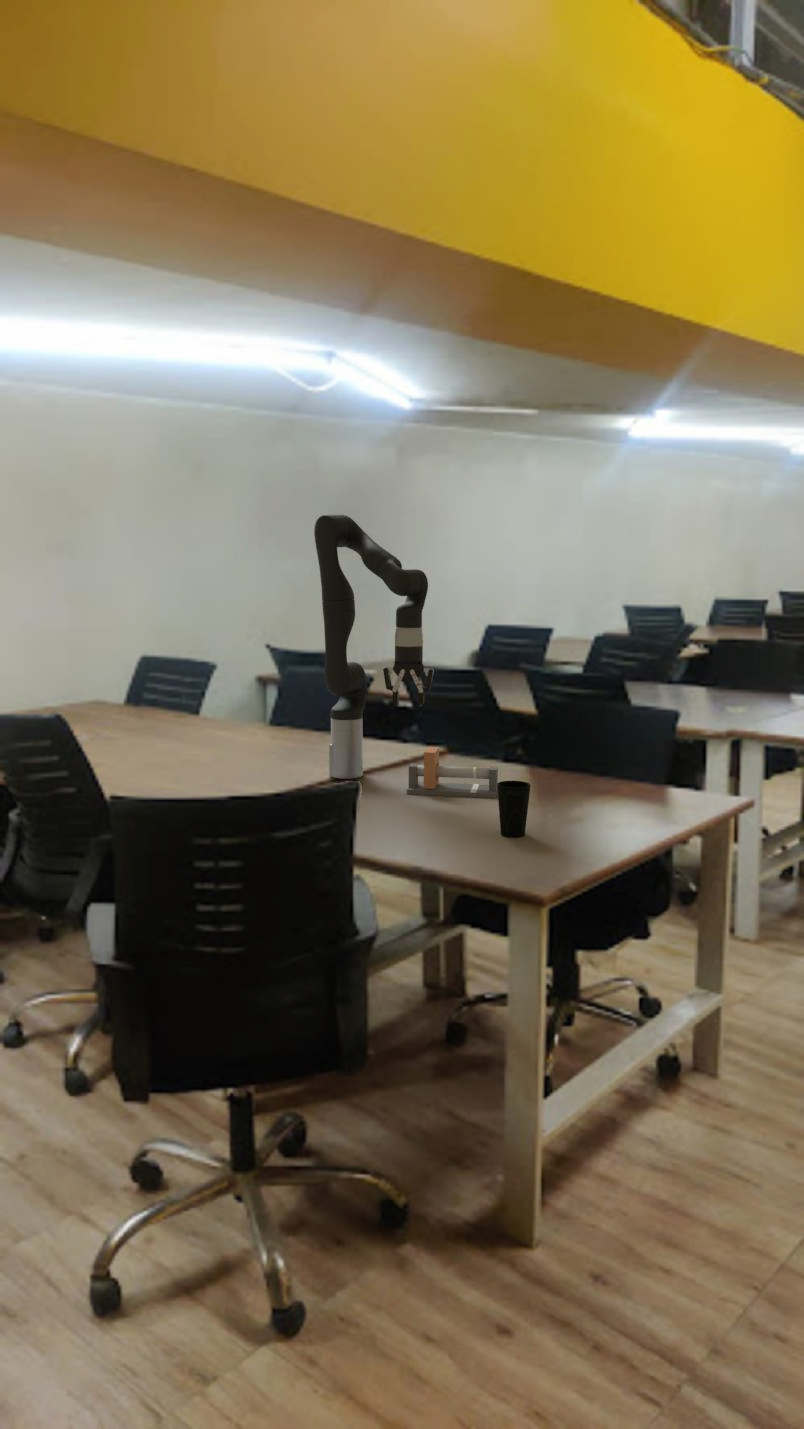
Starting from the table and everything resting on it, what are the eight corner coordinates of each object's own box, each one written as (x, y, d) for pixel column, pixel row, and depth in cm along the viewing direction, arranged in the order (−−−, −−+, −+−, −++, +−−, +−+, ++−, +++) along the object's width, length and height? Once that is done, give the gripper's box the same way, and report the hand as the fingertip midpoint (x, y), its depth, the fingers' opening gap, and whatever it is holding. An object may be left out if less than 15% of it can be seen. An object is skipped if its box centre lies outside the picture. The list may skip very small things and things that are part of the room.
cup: (493, 830, 242) (494, 780, 240) (525, 829, 243) (526, 780, 241) (499, 839, 234) (500, 788, 232) (532, 838, 235) (533, 787, 233)
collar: (423, 788, 278) (424, 752, 276) (428, 782, 286) (428, 746, 284) (434, 789, 277) (435, 752, 276) (438, 782, 285) (439, 747, 283)
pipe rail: (406, 794, 278) (406, 768, 277) (412, 785, 288) (412, 761, 286) (495, 797, 274) (495, 771, 273) (498, 789, 283) (498, 764, 282)
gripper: (379, 644, 274) (379, 707, 277) (433, 645, 272) (432, 708, 274) (385, 642, 281) (385, 703, 284) (437, 643, 279) (436, 704, 281)
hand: (408, 705), depth 279 cm, fingers open, 5 cm apart
